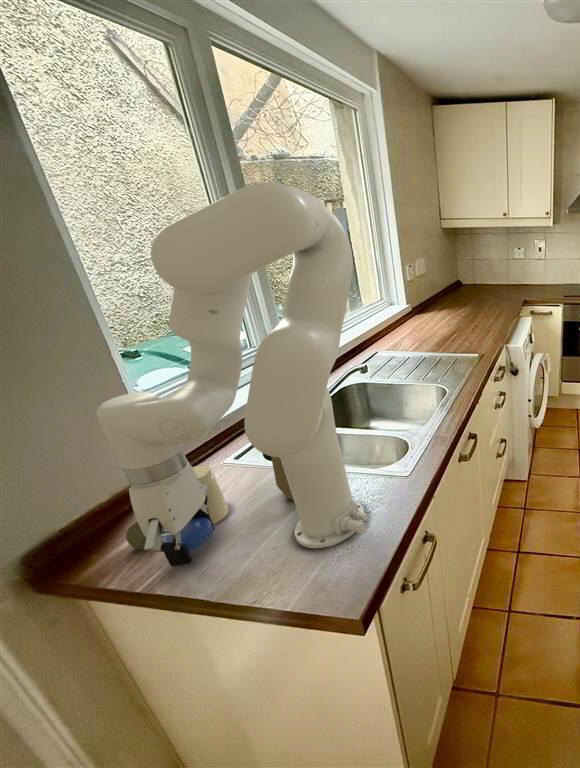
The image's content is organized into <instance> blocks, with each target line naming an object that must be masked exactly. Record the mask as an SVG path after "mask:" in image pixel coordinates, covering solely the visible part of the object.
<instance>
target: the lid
mask: <svg viewBox="0 0 580 768" xmlns="http://www.w3.org/2000/svg"><path fill="white" fill-rule="evenodd" d="M213 525H214V524H213ZM213 525H212V523H211V522H210V521H209V519H207V518H194V519H191V520H190V521H189V522H188V523H187V524H186V525H185V527H184V528H183V529H182V530H181V544H185V545H186V547H187V549H188V551H189V552H191V551H193V550H196V549H198V548H199V547H201V546H202V545H204V544H205V543H206V542H207V541H209V539H210V538H211V537H212V535H213V534H214V531H215V530H214V529H213ZM166 538H167V542H173V536H172V535H170V536H166Z"/></svg>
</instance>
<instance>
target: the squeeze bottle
mask: <svg viewBox="0 0 580 768" xmlns="http://www.w3.org/2000/svg"><path fill="white" fill-rule="evenodd" d="M270 458H271V464H272V469H273V473H274V478H275V484H276V486H277V488H278V489H279V490H280V492H282V494H284V496H285V497H286V498H287V499H289V500H292V501H294V499H293V496H292V493H291V490H290V487H289V484H288V481H287V478H286V475H285V472H284V468H283V465H282V462H281V458H280V457H272V456H270Z"/></svg>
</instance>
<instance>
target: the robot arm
mask: <svg viewBox="0 0 580 768" xmlns="http://www.w3.org/2000/svg"><path fill="white" fill-rule="evenodd" d="M352 251H353V250H352V246H351V243H350V240H349V237H348V234H347V232H346V230H345V229H344V226H343V225H342V223H341V222H340V220H339V219H338V217H337V216H336V215H335V214H334V213H333V212H332V211H331V210H330V209H329V208H328V206H326V205H325V204H324V203H323V202H322V201H321V200H320V199H318V198H317V197H315V196H314V195H313V194H311V193H310V192H307V191H306V190H304V189H300V188H298V187H295V186H291V185H287V184H284V183H280V182H275V181H261V182H260V181H259V182H254V183H251V184H248V185H246V186H243V187H241V188H239V189H238V190H235V191H233V192H231V193H229V194H227V195H226V196H224V197H221V198H220V199H218V200H215V201H214V202H212V203H210V204H207V205H206V206H203V207H202V208H199V209H198V210H195V211H193V212H191V213H189V214H188V215H186V216H183V217H181V218H179V219H177V220H176V221H173V222H172V223H169V224H168V225H166V226H165V227H163V228H162V229H161V230H160V231H159V232H158V233H157V234H156V235H155V236H154V238H153V241H152V243H151V248H150V259H151V262H152V266H153V268H154V270H155V271H156V273H157V275H158V276H159V277H160V278H161V279H162V281H164V282H165V283H166V284H168V285H169V286H170V287H172V288H173V294H172V301H171V306H170V312H169V317H168V327H169V329H170V330H171V332H172V333H173V334H174V335H175V336H177V337H178V338H180V339H183V340H186V341H187V342H188V343H189V346H190V363H189V369H188V374H187V378H186V379H187V380H186V381H185V383H184V384H183V385H182V386H180V387H179V388H177V389H176V390H175V391H173V392H171V394H169V395H168V396H166V397H163V398H161V397H160V396H159V395H158V394H156V393H153V392H149V391H140V392H139V391H138V392H131V393H126V394H122V395H119V396H115V397H112V398H110V399H107V400H106V401H104V402H102V403H101V404H100V405H98V407H97V409H96V418H97V420H98V423H99V424H100V426H101V429H102V430H103V432H104V434H105V436H106V438H107V440H108V442H109V445H110V446H111V448H112V450H113V452H114V455H115V456H116V458H117V460H118V462H119V464H120V466H121V468H122V470H123V472H124V474H125V476H126V478H127V480H128V482H129V484H130V485H131V486H130V487H129V488H128V493H129V498H130V503H131V507H132V510H133V513H134V517H135V518H136V522H138V524H139V526H140V528H141V530H142V533H143V534H144V536H145V537H146V542H145V546H144V549H143V550H144V551H145V552H154V553H163V554H164V556H165V558H166V560H167V562H168V564H169V565H170V567H178V566H179V567H180V566H185V565H190V564H191V563H192V562H193V557H192V555H191V554H190V551H188V549H187V547H186V545H185V544H181V530H182V529H183V528H184V527H185V525H186V524H187V523H188V522H189V521H190V520H191V519H194V518H207V519H209V521H210V522H211V523H212V520H211V518H210V516H209V514H207V513H208V512H209V507H208V506H207V500H208V497H207V496H206V495H207V485H206V484H201V482H200V480H199V478H198V476H197V475H196V473H195V471H194V470H193V468H192V467H193V466H192V465H191V463H190V461H188V459H187V457H186V454H185V452H184V450H183V447H182V445H184V444H191V443H194V442H198V441H199V440H201V439H203V438H204V437H206V435H207V434H208V433H209V432H210V431H212V429H213V428H214V427H215V426H216V425H217V423H218V422H219V421H220V420H221V419H222V418H223V417H224V416H225V414H227V412H228V411H229V410H230V409H231V407H232V406H233V404H234V402H235V399H236V397H237V396H236V395H237V392H238V387H239V383H240V379H241V374H242V368H243V348H242V347H243V346H242V342H241V341H242V340H241V332H242V328H243V321H244V316H245V312H246V306H247V301H248V297H249V293H250V288H251V282H252V279H253V273H255V272H258V271H259V270H261V269H264V268H265V267H267V266H269V265H271V264H274V263H275V262H277V261H279V260H281V259H283V258H285V257H287V256H290V255H292V257H293V260H292V268H291V271H290V273H289V278H288V282H287V287H286V296H285V301H284V306H283V309H282V314H281V317H280V320H279V322H278V324H277V325H276V326H275V327H274V328H273V329H271V330H270V331H269V332H268V333H267V334H266V335H265V337H264V338H263V339H262V341H261V342H260V343H259V346H258V348H257V350H256V353H255V356H254V360H253V365H252V370H251V375H250V382H249V390H248V395H247V401H246V407H245V412H244V423H243V425H244V432H245V436H246V438H247V439H248V441H249V444H251V445H252V446H253V447H254V448H255V449H256V451H258V452H260V453H261V454H264V455H266V456H269V457H271V456H272V457H280V458H281V462H282V465H283V468H284V472H285V475H286V478H287V481H288V484H289V487H290V490H291V493H292V496H293V499H294V500H293V502H294V506H295V508H296V510H297V515H298V518H299V519H298V521H297V523H296V524H295V526H294V533H293V534H294V537H295V540H296V541H297V543H298V544H299V545H300V546H302V547H305V548H307V549H322V548H323V549H324V548H327V547H332V546H335V545H337V544H340V543H342V542H344V541H346V540H347V539H350V537H352V536H353V535H354V534H355V533H357V534H363V533H364V532H365V531H366V530H367V529H366V528H367V523H366V521H368V520H369V517H370V515H369V513H367V512H365V509H364V506H363V505H362V503H361V502H360V501H358V500H355V499H353V496H352V492H351V487H350V482H349V479H348V475H347V470H346V467H345V463H344V459H343V454H342V451H341V446H340V442H339V438H338V433H337V429H336V422H335V415H334V409H333V407H334V406H333V401H332V397H331V393H330V391H329V389H328V382H329V378H330V376H331V372H332V369H333V367H334V365H335V363H336V360H337V358H338V356H339V351H340V342H341V341H340V340H341V335H342V330H343V325H344V320H345V317H346V312H347V306H348V300H349V294H350V291H351V290H350V289H351V284H352V278H353V269H354V263H353V262H354V260H353V259H354V258H353V252H352ZM212 525H213V529H214V531H215V530H216V528H215V524H213V523H212ZM170 535H172V536H173V542H167V538H166V536H170Z"/></svg>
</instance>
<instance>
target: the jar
mask: <svg viewBox="0 0 580 768" xmlns="http://www.w3.org/2000/svg"><path fill="white" fill-rule="evenodd" d="M192 468H193V470H194V471H195V473H196V475H197V476H198V478H199V480H200V482H201V484H206V485H207V495H206V496H207V497H208V500H207V506H208V507H209V512H208V513H207V514H209V516H210V518H211V520H212V523H213V525H215V524H217V523H219V522H221V521H222V520H223V519H224V518H226V516H227V515H228V514H229V507H228V505H227V502H226V500H225V497H224V494H223V492H222V490H221V488H220V484H219V482H218V479H217V478H216V475H215V473H214V472H213V471H212V468H210V467H209V466H208V465H195V466H192Z"/></svg>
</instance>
